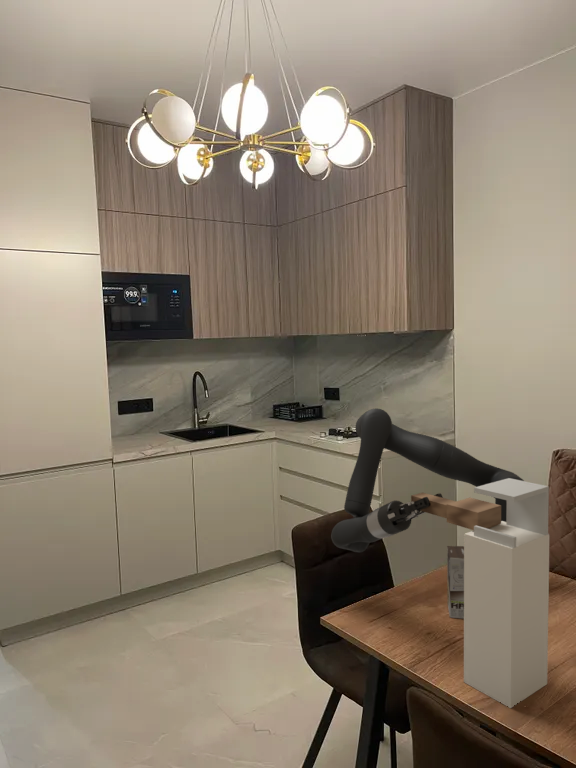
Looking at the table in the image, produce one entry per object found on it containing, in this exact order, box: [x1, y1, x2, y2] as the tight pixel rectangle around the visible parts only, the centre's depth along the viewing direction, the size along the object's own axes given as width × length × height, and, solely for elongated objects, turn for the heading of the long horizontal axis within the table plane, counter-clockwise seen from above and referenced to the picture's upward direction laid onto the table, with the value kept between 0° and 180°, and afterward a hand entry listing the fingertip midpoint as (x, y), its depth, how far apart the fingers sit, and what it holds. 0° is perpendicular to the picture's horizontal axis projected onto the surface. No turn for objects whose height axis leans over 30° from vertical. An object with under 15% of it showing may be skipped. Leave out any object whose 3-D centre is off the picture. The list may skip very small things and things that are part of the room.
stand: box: [463, 478, 550, 709], centre depth 120 cm, size 11×13×42 cm
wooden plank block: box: [410, 492, 501, 531], centre depth 131 cm, size 20×8×4 cm, turn 36°
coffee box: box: [446, 545, 464, 620], centre depth 154 cm, size 9×6×16 cm
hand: (434, 499), depth 134 cm, fingers closed on wooden plank block, 4 cm apart
